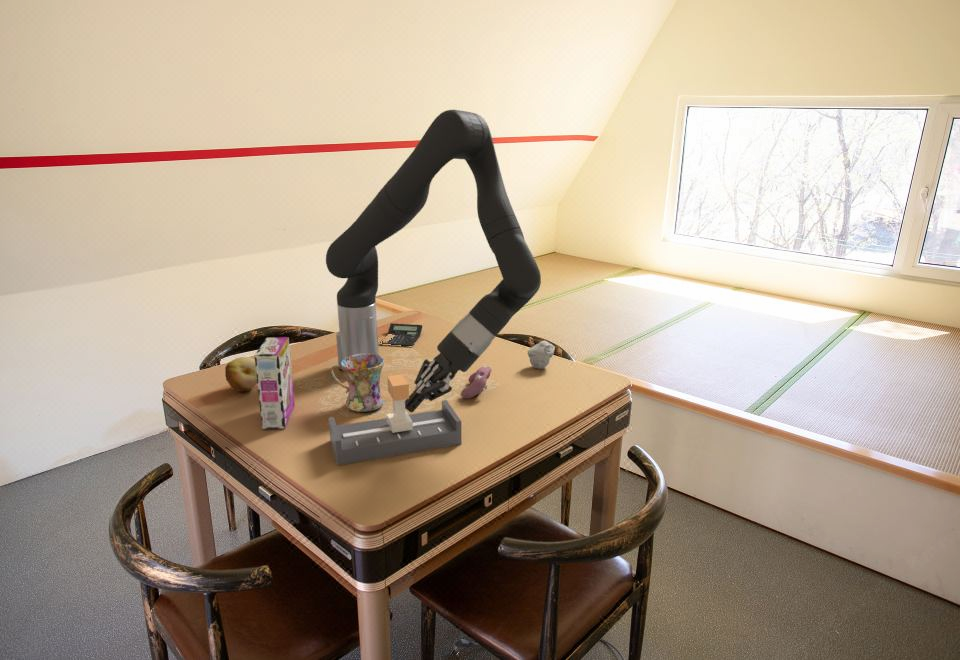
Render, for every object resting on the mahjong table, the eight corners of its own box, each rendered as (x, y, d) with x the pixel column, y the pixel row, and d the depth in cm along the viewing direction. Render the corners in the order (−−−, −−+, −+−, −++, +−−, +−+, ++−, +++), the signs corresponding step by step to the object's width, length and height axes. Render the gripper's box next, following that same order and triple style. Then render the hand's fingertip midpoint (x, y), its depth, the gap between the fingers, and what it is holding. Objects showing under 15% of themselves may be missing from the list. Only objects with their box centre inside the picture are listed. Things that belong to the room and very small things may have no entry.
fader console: (446, 421, 137) (446, 400, 135) (461, 443, 128) (461, 421, 126) (330, 440, 129) (328, 417, 128) (337, 465, 121) (335, 441, 119)
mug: (391, 398, 148) (389, 354, 145) (379, 416, 139) (376, 370, 136) (341, 395, 150) (337, 351, 146) (325, 412, 141) (321, 367, 138)
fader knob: (406, 418, 131) (405, 374, 128) (412, 429, 126) (411, 383, 123) (387, 421, 130) (384, 376, 126) (392, 432, 125) (390, 386, 122)
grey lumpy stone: (557, 371, 163) (558, 344, 161) (531, 373, 161) (531, 347, 159) (549, 362, 169) (550, 336, 166) (523, 364, 167) (524, 339, 165)
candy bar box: (286, 429, 134) (278, 354, 129) (261, 430, 133) (252, 355, 128) (296, 405, 144) (289, 335, 139) (273, 406, 144) (265, 336, 139)
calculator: (379, 346, 181) (378, 336, 180) (391, 332, 192) (391, 322, 191) (412, 348, 179) (411, 337, 178) (422, 334, 190) (422, 324, 189)
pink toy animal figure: (476, 406, 147) (490, 382, 145) (458, 397, 148) (472, 372, 145) (484, 389, 157) (497, 365, 154) (467, 380, 157) (480, 356, 154)
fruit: (225, 398, 148) (221, 365, 145) (231, 384, 156) (226, 352, 153) (260, 395, 149) (256, 363, 147) (264, 381, 157) (260, 350, 154)
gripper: (443, 320, 131) (385, 385, 132) (463, 342, 120) (400, 412, 120) (468, 342, 135) (412, 405, 135) (490, 365, 123) (429, 434, 123)
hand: (407, 408), depth 127 cm, fingers closed
